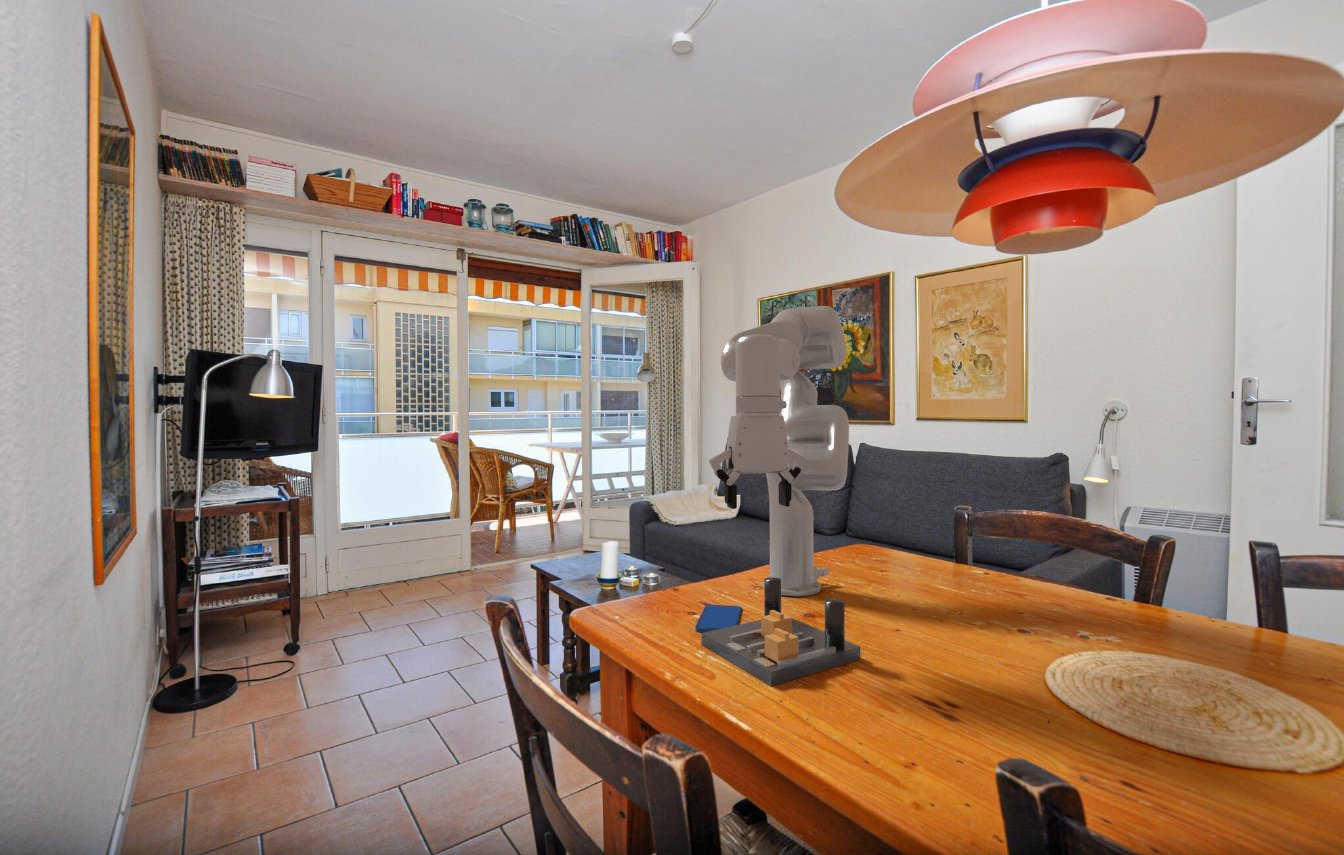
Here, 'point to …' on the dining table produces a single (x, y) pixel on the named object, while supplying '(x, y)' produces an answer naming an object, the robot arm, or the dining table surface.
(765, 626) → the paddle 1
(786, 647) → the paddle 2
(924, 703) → the dining table surface
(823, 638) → the grey slotted fixture
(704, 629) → the smartphone
